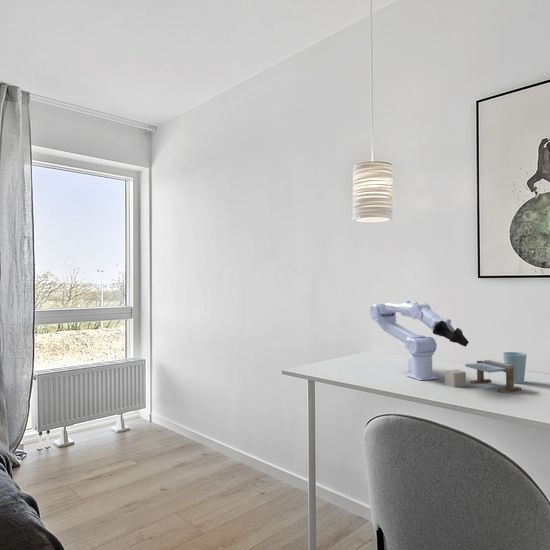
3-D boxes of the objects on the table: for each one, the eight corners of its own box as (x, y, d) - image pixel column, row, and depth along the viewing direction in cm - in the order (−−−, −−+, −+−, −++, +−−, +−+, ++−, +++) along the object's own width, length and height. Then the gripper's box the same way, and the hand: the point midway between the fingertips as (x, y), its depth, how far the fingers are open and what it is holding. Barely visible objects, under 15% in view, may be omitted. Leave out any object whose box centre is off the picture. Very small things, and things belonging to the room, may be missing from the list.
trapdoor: (465, 368, 165) (465, 362, 165) (489, 366, 168) (489, 360, 168) (488, 375, 153) (488, 367, 153) (514, 372, 156) (513, 365, 156)
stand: (470, 382, 167) (469, 361, 167) (487, 380, 170) (487, 360, 170) (502, 392, 152) (501, 369, 153) (521, 390, 155) (520, 367, 155)
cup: (502, 382, 166) (501, 354, 166) (505, 378, 173) (504, 351, 173) (525, 385, 162) (525, 355, 162) (527, 381, 168) (527, 352, 169)
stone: (445, 384, 166) (444, 370, 166) (456, 383, 168) (456, 369, 168) (454, 387, 162) (453, 373, 162) (465, 386, 163) (465, 372, 163)
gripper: (428, 307, 166) (453, 325, 154) (453, 319, 173) (478, 337, 161) (417, 323, 167) (442, 342, 156) (442, 334, 174) (467, 353, 163)
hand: (460, 341), depth 158 cm, fingers open, 7 cm apart
